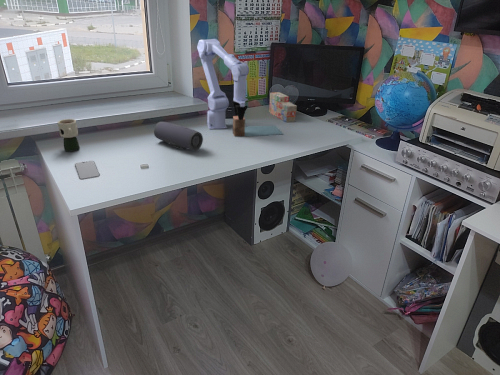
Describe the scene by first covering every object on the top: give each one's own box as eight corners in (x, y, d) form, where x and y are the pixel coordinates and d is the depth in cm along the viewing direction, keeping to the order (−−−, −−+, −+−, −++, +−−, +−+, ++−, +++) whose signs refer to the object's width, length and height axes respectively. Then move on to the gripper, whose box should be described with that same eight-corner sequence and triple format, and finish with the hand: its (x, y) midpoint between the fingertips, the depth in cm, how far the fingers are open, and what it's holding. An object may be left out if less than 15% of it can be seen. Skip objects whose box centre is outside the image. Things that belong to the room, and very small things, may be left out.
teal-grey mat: (245, 136, 189) (245, 135, 189) (239, 127, 201) (239, 126, 201) (283, 134, 194) (283, 133, 194) (275, 126, 206) (275, 125, 206)
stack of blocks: (295, 121, 215) (297, 100, 209) (285, 122, 213) (287, 101, 207) (277, 111, 232) (279, 91, 227) (268, 112, 230) (269, 92, 224)
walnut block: (234, 136, 189) (235, 119, 184) (232, 133, 193) (233, 116, 189) (244, 136, 190) (245, 118, 186) (242, 132, 194) (242, 115, 190)
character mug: (61, 147, 167) (55, 118, 161) (78, 144, 171) (73, 116, 165) (65, 155, 159) (59, 126, 153) (83, 152, 163) (78, 123, 157)
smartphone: (79, 179, 140) (74, 163, 151) (80, 181, 140) (74, 165, 152) (100, 175, 143) (93, 160, 154) (100, 178, 143) (94, 162, 155)
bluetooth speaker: (204, 149, 172) (203, 128, 167) (190, 155, 165) (189, 133, 160) (168, 138, 183) (167, 118, 178) (153, 143, 176) (152, 122, 171)
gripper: (251, 93, 175) (250, 121, 182) (244, 86, 188) (243, 112, 194) (236, 93, 174) (236, 121, 180) (230, 86, 186) (230, 113, 193)
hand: (239, 117), depth 187 cm, fingers open, 7 cm apart
